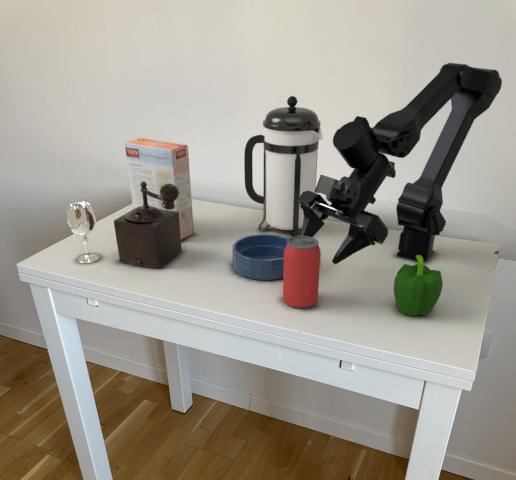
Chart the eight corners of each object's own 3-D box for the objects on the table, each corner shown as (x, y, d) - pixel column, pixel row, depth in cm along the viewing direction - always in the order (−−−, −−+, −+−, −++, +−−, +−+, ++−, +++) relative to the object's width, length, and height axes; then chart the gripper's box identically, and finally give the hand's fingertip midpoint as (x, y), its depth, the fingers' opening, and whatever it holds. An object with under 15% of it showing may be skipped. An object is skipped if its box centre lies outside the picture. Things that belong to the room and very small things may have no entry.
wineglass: (107, 256, 119) (98, 203, 113) (90, 266, 115) (80, 211, 108) (87, 251, 121) (77, 199, 115) (69, 261, 117) (58, 207, 110)
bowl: (309, 263, 116) (310, 243, 114) (274, 287, 107) (274, 266, 104) (257, 248, 123) (257, 229, 120) (219, 269, 113) (219, 250, 111)
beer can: (322, 306, 100) (327, 246, 94) (289, 311, 99) (291, 250, 92) (310, 290, 105) (313, 232, 99) (278, 295, 104) (279, 236, 97)
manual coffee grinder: (116, 263, 116) (102, 179, 106) (143, 244, 125) (133, 165, 115) (180, 275, 111) (172, 188, 101) (203, 254, 120) (198, 173, 110)
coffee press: (310, 214, 141) (317, 89, 125) (325, 238, 128) (334, 101, 111) (244, 218, 139) (242, 91, 123) (252, 242, 126) (251, 103, 109)
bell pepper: (433, 325, 94) (444, 274, 89) (386, 316, 97) (394, 265, 92) (439, 304, 101) (449, 254, 95) (395, 296, 104) (403, 247, 98)
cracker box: (195, 234, 130) (189, 144, 119) (179, 242, 126) (171, 149, 114) (151, 222, 136) (141, 136, 125) (135, 230, 132) (123, 141, 121)
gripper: (307, 146, 99) (260, 217, 99) (385, 168, 86) (331, 250, 87) (334, 181, 107) (291, 247, 108) (409, 205, 95) (360, 280, 95)
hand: (315, 254), depth 99 cm, fingers open, 9 cm apart
